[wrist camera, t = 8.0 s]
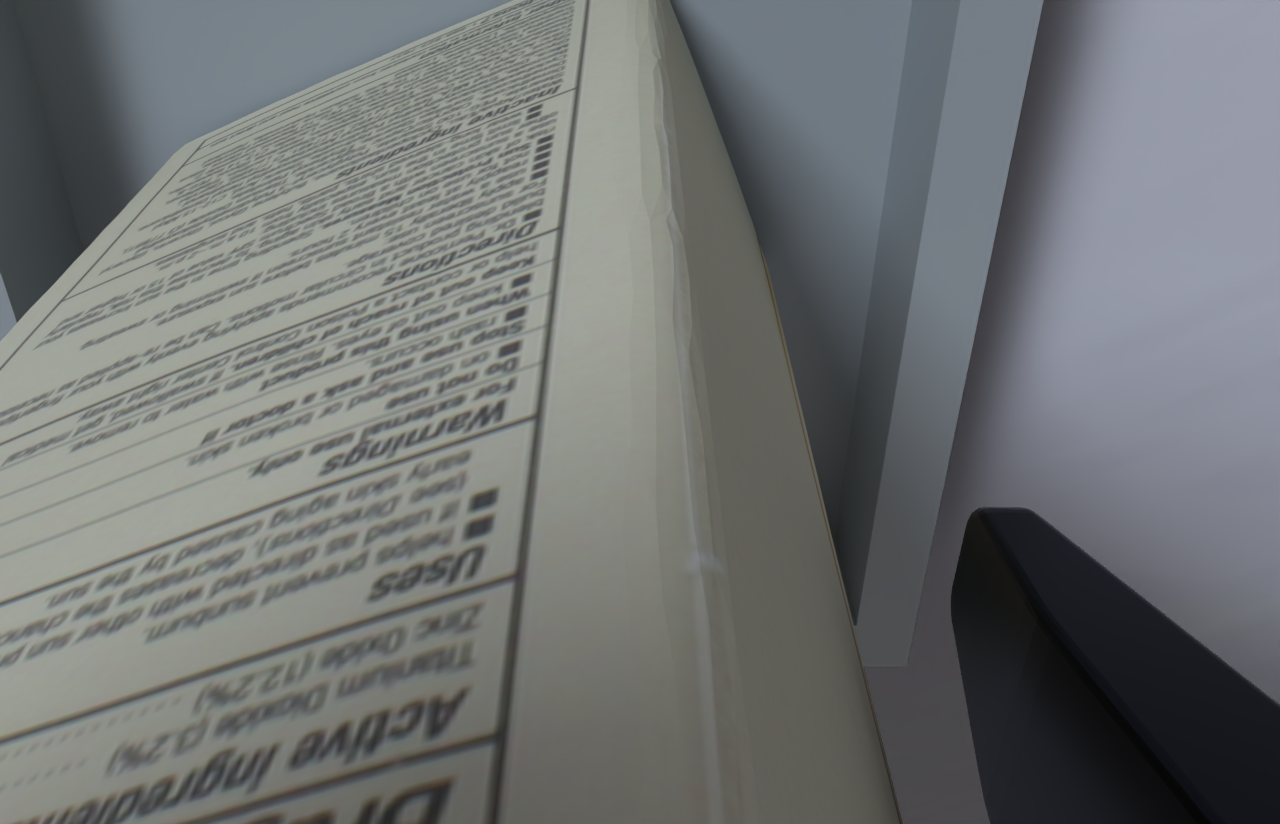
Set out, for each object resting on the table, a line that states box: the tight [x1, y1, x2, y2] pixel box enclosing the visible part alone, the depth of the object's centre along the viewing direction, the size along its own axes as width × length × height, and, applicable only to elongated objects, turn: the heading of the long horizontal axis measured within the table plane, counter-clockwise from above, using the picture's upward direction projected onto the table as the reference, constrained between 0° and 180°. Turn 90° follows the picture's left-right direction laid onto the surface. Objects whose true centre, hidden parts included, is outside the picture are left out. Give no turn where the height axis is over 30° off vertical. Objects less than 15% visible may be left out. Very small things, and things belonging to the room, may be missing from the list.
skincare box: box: [0, 0, 903, 824], centre depth 9 cm, size 6×4×12 cm
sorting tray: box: [0, 0, 1044, 667], centre depth 14 cm, size 12×13×2 cm
